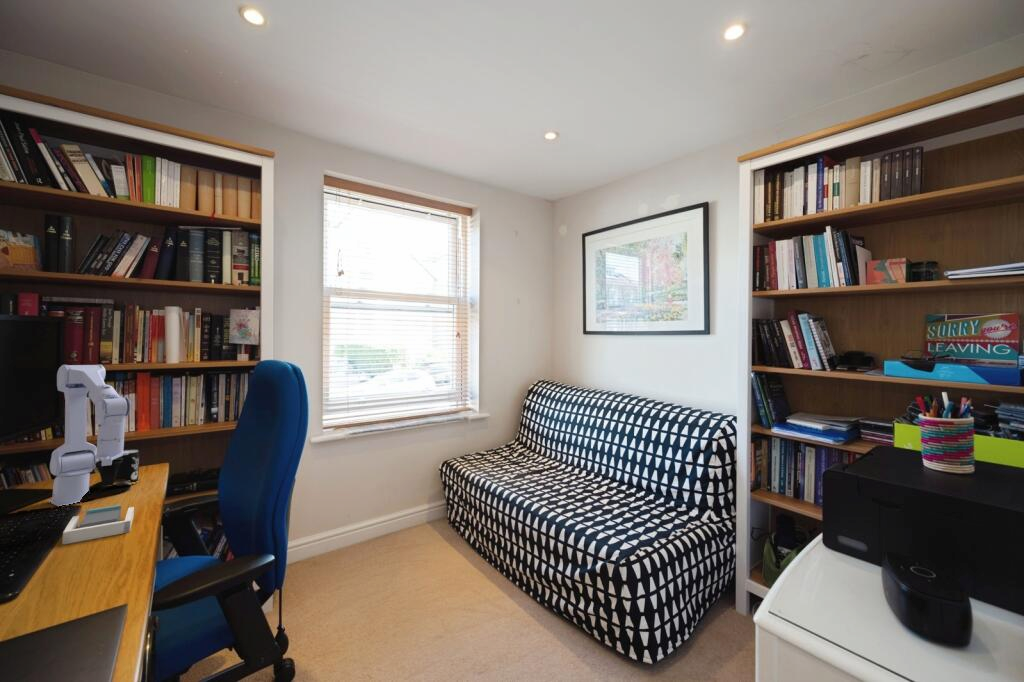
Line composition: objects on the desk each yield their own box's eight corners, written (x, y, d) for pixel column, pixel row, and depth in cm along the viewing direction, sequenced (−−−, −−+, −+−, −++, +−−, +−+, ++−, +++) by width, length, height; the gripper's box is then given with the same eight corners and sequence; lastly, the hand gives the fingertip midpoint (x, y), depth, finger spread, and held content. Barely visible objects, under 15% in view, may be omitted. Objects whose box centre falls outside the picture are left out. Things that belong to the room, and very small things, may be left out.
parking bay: (72, 527, 112) (72, 516, 112) (133, 517, 120) (134, 506, 120) (62, 544, 103) (63, 532, 103) (129, 532, 110) (130, 520, 110)
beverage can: (125, 487, 145) (127, 453, 146) (107, 487, 146) (109, 453, 146) (142, 482, 152) (144, 449, 152) (125, 481, 152) (127, 449, 153)
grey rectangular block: (86, 524, 114) (87, 509, 114) (120, 518, 119) (121, 504, 119) (79, 537, 107) (80, 521, 107) (116, 530, 111) (117, 515, 111)
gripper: (127, 441, 118) (124, 489, 117) (131, 433, 129) (128, 476, 129) (92, 444, 113) (89, 493, 113) (100, 435, 125) (97, 480, 124)
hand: (108, 485), depth 120 cm, fingers closed
